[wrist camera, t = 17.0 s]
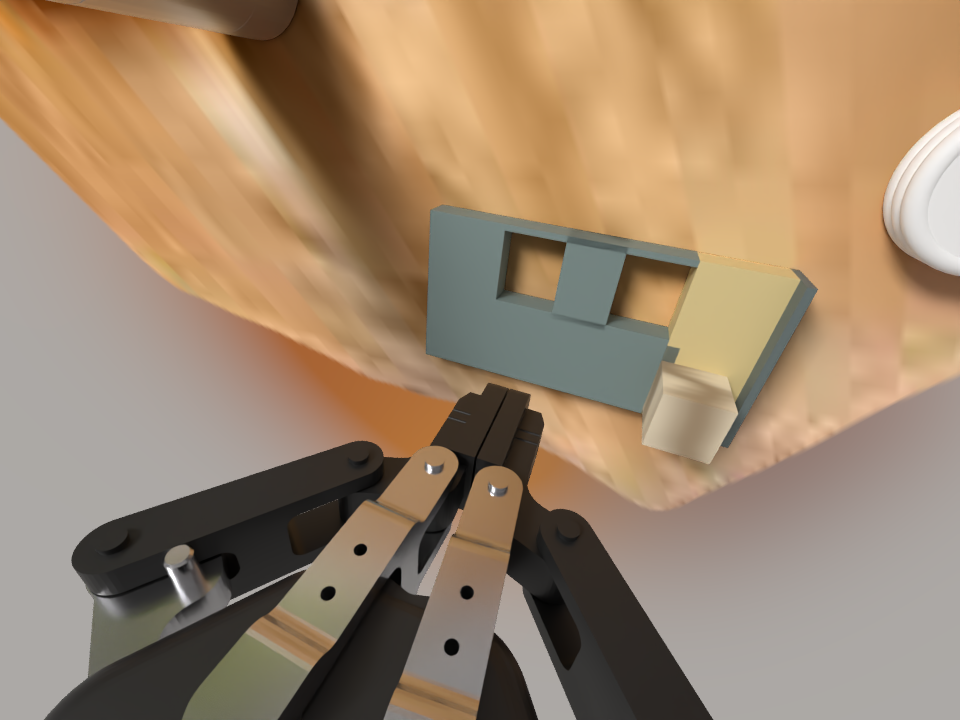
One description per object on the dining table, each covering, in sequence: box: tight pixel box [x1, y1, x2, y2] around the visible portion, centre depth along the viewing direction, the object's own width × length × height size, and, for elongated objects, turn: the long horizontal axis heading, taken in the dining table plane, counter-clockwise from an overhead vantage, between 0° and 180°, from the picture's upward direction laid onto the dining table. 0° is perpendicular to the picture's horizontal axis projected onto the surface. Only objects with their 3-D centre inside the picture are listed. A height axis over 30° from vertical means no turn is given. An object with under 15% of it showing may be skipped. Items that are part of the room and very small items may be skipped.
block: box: [642, 361, 738, 465], centre depth 33 cm, size 5×5×5 cm
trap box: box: [426, 205, 818, 448], centre depth 35 cm, size 28×14×4 cm, turn 84°
